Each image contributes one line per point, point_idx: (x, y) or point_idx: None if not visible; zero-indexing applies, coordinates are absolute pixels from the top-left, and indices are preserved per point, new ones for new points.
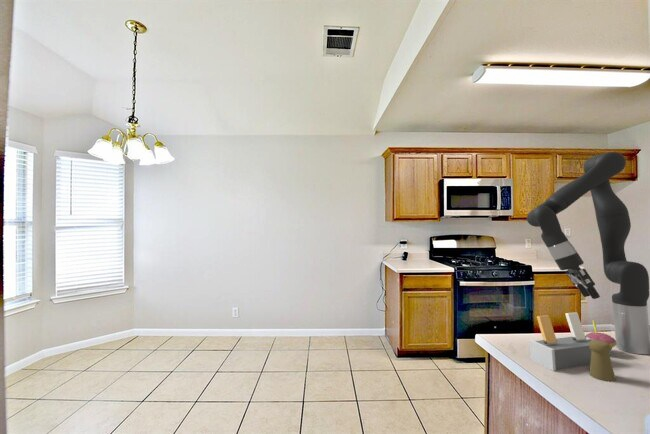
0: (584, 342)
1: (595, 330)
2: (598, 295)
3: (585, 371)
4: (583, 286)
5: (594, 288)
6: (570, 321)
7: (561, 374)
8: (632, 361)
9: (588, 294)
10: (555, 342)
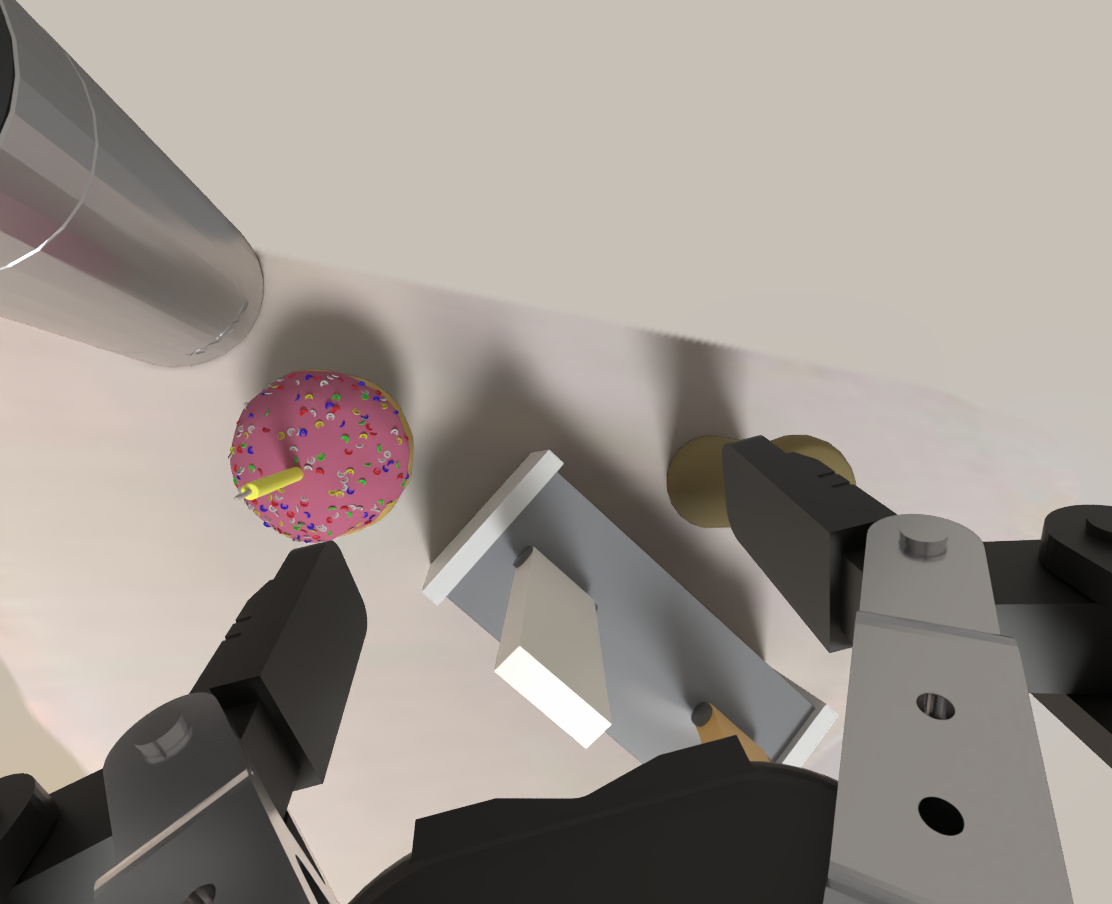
0: (572, 554)
1: (295, 480)
2: (804, 455)
3: (687, 542)
4: (275, 698)
5: (850, 509)
6: (602, 675)
7: (780, 633)
8: (414, 330)
9: (335, 570)
10: (718, 710)
